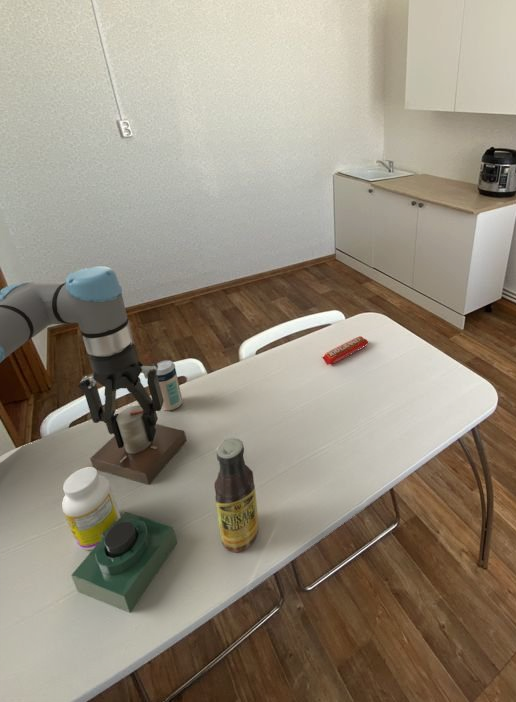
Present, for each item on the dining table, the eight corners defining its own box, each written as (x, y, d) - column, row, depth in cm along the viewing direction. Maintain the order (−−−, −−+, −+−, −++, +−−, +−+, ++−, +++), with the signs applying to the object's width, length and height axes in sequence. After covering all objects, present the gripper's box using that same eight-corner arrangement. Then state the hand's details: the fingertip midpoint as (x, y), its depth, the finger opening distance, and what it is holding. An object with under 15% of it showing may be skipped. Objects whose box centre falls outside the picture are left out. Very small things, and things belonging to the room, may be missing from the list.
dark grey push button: (101, 552, 59) (97, 544, 58) (122, 527, 62) (119, 518, 62) (122, 560, 58) (118, 551, 57) (142, 533, 61) (140, 525, 61)
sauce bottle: (223, 562, 62) (205, 473, 56) (220, 526, 68) (203, 440, 61) (264, 544, 65) (251, 457, 58) (258, 511, 70) (245, 427, 63)
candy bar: (328, 368, 108) (328, 359, 107) (321, 362, 111) (320, 353, 110) (370, 345, 118) (370, 337, 117) (362, 340, 121) (362, 332, 120)
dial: (122, 456, 78) (112, 424, 75) (129, 437, 83) (120, 406, 80) (148, 450, 79) (140, 419, 77) (154, 432, 84) (146, 402, 81)
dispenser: (77, 592, 59) (66, 566, 57) (130, 527, 68) (122, 503, 66) (130, 613, 56) (120, 587, 54) (177, 542, 65) (171, 518, 63)
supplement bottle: (82, 521, 69) (62, 469, 64) (124, 507, 71) (107, 455, 67) (72, 559, 63) (49, 505, 59) (118, 542, 66) (100, 488, 61)
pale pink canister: (169, 397, 98) (160, 358, 94) (186, 398, 98) (178, 359, 94) (157, 411, 94) (147, 370, 90) (175, 412, 93) (166, 372, 89)
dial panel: (93, 469, 79) (89, 457, 78) (135, 428, 89) (132, 417, 88) (149, 485, 75) (145, 473, 74) (186, 441, 85) (184, 430, 84)
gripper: (166, 328, 78) (186, 417, 86) (65, 343, 74) (95, 435, 82) (158, 349, 71) (180, 444, 79) (46, 366, 67) (81, 464, 75)
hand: (137, 439), depth 81 cm, fingers closed on dial, 5 cm apart
